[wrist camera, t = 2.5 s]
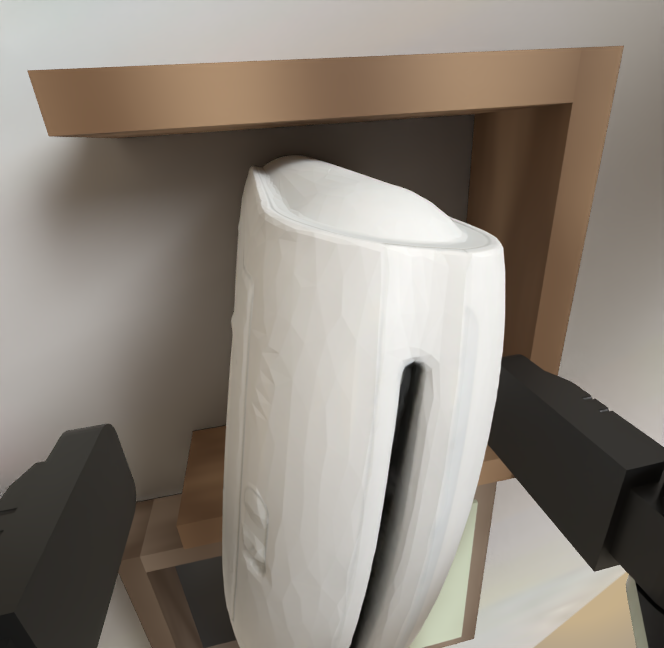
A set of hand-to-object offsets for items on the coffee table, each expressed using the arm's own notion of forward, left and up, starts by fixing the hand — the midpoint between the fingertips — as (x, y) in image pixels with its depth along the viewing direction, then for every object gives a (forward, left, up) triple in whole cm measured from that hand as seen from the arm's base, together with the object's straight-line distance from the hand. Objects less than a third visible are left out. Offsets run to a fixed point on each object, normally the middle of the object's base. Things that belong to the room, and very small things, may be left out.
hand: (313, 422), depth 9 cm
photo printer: (0, 0, -9) cm, 9 cm away
